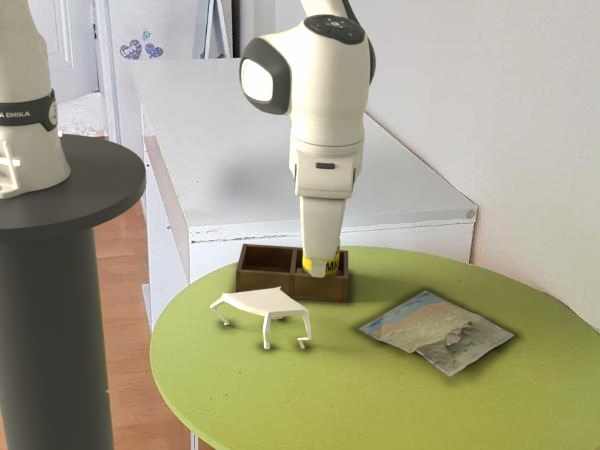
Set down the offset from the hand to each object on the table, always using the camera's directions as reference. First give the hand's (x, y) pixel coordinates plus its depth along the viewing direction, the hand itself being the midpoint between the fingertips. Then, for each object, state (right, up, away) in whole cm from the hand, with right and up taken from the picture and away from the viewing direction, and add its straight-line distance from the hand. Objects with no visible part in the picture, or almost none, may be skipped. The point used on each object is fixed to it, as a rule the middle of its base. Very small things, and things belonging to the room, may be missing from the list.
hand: (319, 255), depth 97 cm
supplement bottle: (0, -4, +2) cm, 4 cm away
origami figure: (-7, -9, -8) cm, 14 cm away
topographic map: (+14, -9, -6) cm, 18 cm away
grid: (-3, -4, +2) cm, 6 cm away
